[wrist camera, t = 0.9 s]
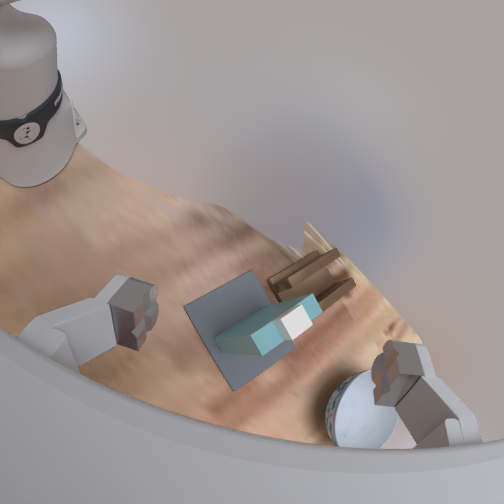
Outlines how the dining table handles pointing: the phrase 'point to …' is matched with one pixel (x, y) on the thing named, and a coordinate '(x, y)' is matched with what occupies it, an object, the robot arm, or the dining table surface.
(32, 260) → the dining table surface
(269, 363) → the mat
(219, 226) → the dining table surface
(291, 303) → the teal rectangular block
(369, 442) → the chinaware
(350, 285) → the rack
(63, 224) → the dining table surface
